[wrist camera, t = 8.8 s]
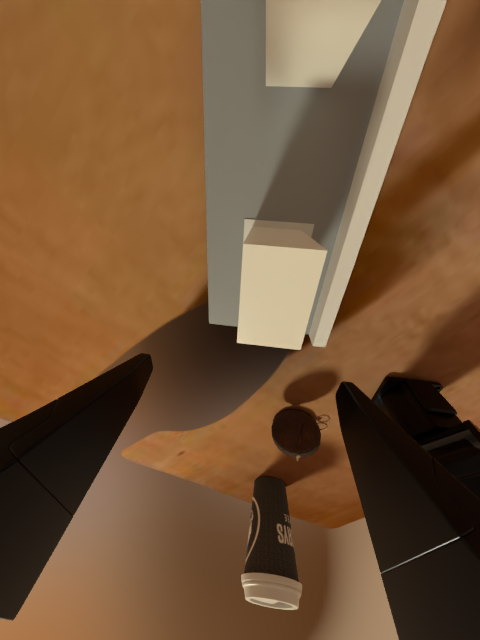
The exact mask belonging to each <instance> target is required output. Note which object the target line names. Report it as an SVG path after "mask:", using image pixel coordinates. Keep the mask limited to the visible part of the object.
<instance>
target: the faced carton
mask: <svg viewBox="0 0 480 640" xmlns="http://www.w3.org/2000/svg"><path fill="white" fill-rule="evenodd" d="M380 2H381V0H266V86H279V87H313V88H331V87H332V86H333V84H334V82H335V80H336V79H337V77H338V75H339V73H340V72H341V70H342V68H343V66H344V65H345V63H346V61H347V59H348V58H349V56H350V54H351V52H352V51H353V49H354V47H355V45H356V44H357V42H358V40H359V39H360V37H361V35H362V33H363V32H364V30H365V28H366V26H367V25H368V23H369V21H370V19H371V18H372V16H373V14H374V12H375V11H376V9H377V7H378V5H379V4H380Z"/></svg>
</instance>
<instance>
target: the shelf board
mask: <svg viewBox="0 0 480 640" xmlns="http://www.w3.org/2000/svg"><path fill="white" fill-rule="evenodd" d="M446 1H447V0H381V2H380V4H379V5H378V7H377V9H376V11H375V12H374V14H373V16H372V18H371V19H370V21H369V23H368V25H367V26H366V28H365V30H364V32H363V33H362V35H361V37H360V39H359V40H358V42H357V44H356V45H355V47H354V49H353V51H352V52H351V54H350V56H349V58H348V59H347V61H346V63H345V65H344V66H343V68H342V70H341V72H340V73H339V75H338V77H337V79H336V80H335V82H334V84H333V86H332V87H331V88H313V87H279V86H266V0H201V22H202V61H203V101H204V141H205V181H206V220H207V260H208V300H209V323H211V324H219V325H229V326H237V327H238V319H239V303H240V287H241V271H242V255H243V243H244V241H245V240H246V238H247V236H248V234H249V232H250V230H251V228H252V227H266V228H279V229H292V230H302V231H303V232H305V233H306V234H307V235H308V236H310V237H311V238H312V239H313V240H315V241H316V242H317V243H318V244H320V245H321V246H322V247H324V248H325V249H326V250H327V254H326V258H325V262H324V266H323V269H322V273H321V277H320V280H319V284H318V288H317V291H316V295H315V299H314V302H313V306H312V310H311V313H310V317H309V321H308V324H307V328H306V332H305V334H309V336H310V339H311V342H312V346H318V347H325V346H326V343H327V340H328V338H329V335H330V332H331V329H332V326H333V323H334V320H335V318H336V315H337V312H338V309H339V306H340V303H341V300H342V298H343V295H344V292H345V290H346V287H347V284H348V281H349V278H350V275H351V272H352V270H353V267H354V264H355V261H356V258H357V255H358V252H359V249H360V246H361V243H362V240H363V238H364V235H365V232H366V229H367V226H368V223H369V220H370V218H371V215H372V212H373V209H374V206H375V203H376V200H377V198H378V195H379V192H380V189H381V186H382V183H383V180H384V178H385V175H386V172H387V169H388V166H389V163H390V160H391V158H392V155H393V152H394V149H395V146H396V143H397V140H398V138H399V135H400V132H401V129H402V126H403V123H404V120H405V117H406V115H407V112H408V109H409V106H410V103H411V100H412V97H413V95H414V92H415V89H416V86H417V83H418V80H419V77H420V75H421V72H422V69H423V66H424V63H425V60H426V57H427V55H428V52H429V49H430V46H431V43H432V40H433V37H434V35H435V32H436V30H437V27H438V24H439V21H440V19H441V16H442V13H443V10H444V7H445V4H446Z"/></svg>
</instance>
